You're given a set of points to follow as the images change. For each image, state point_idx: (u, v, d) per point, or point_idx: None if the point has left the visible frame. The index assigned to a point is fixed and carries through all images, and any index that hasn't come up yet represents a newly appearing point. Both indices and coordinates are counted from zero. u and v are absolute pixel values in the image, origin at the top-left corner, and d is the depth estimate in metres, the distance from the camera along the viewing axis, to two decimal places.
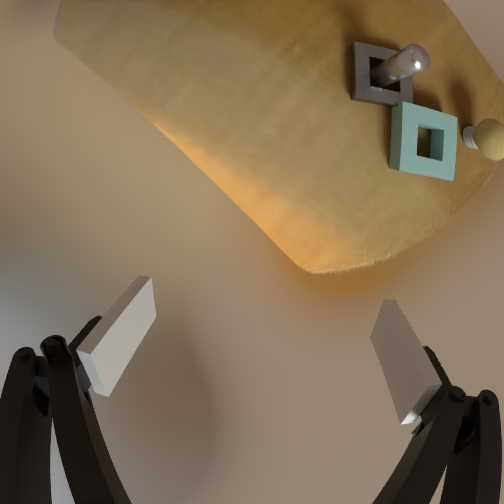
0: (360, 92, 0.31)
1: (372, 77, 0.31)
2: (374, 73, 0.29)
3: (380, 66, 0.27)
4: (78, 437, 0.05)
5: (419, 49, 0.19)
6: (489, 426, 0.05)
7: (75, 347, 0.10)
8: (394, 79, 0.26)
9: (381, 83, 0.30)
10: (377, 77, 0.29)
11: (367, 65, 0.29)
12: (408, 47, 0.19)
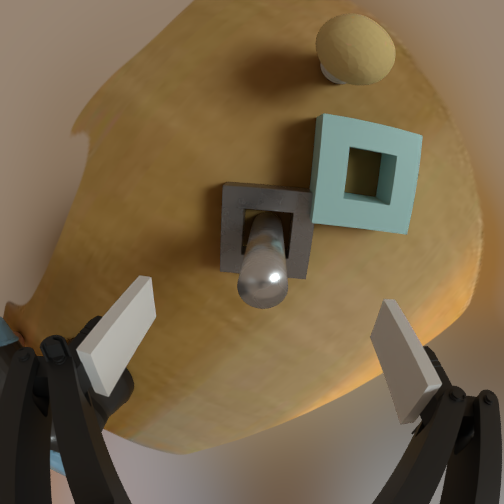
0: (298, 272, 0.29)
1: None
2: None
3: None
4: (78, 437, 0.05)
5: (246, 283, 0.17)
6: (489, 426, 0.05)
7: (75, 347, 0.10)
8: None
9: None
10: None
11: None
12: (248, 302, 0.18)
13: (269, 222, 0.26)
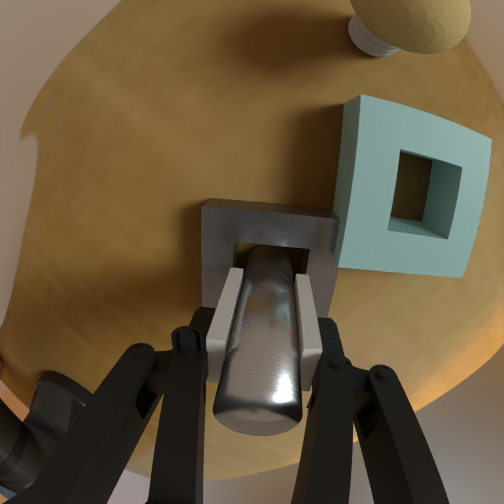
0: None
1: None
2: None
3: None
4: (184, 434, 0.06)
5: (229, 409, 0.09)
6: (393, 405, 0.07)
7: None
8: None
9: None
10: None
11: None
12: (234, 428, 0.09)
13: (272, 265, 0.17)
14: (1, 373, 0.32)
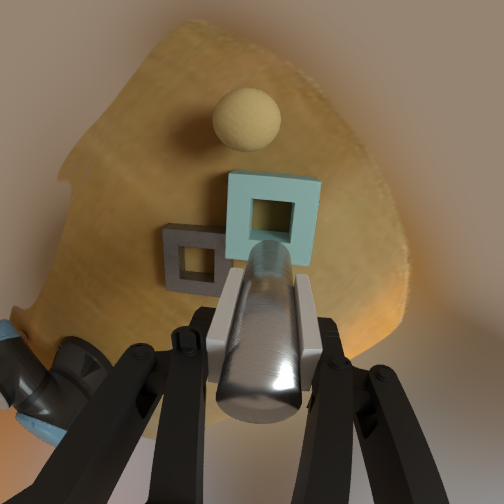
0: None
1: None
2: None
3: None
4: (184, 435, 0.06)
5: (231, 395, 0.09)
6: (393, 405, 0.07)
7: None
8: None
9: None
10: None
11: (191, 282, 0.36)
12: (236, 416, 0.10)
13: (273, 260, 0.17)
14: None
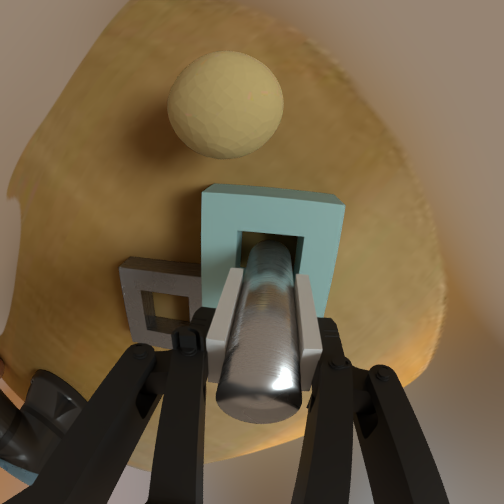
0: None
1: None
2: None
3: None
4: (183, 435, 0.06)
5: (231, 396, 0.09)
6: (393, 405, 0.07)
7: None
8: None
9: None
10: None
11: (161, 335, 0.26)
12: (236, 416, 0.10)
13: (273, 260, 0.17)
14: (2, 372, 0.39)
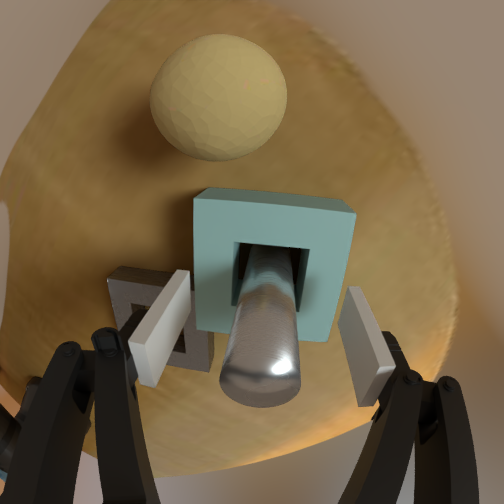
0: (199, 366, 0.24)
1: None
2: None
3: None
4: (119, 432, 0.06)
5: (234, 378, 0.10)
6: (454, 414, 0.06)
7: (122, 339, 0.11)
8: None
9: None
10: None
11: None
12: (238, 400, 0.10)
13: (273, 255, 0.18)
14: None
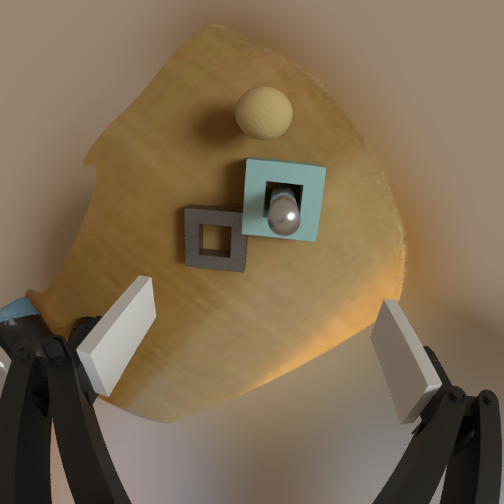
0: (238, 267, 0.41)
1: None
2: None
3: None
4: (78, 437, 0.05)
5: (274, 217, 0.27)
6: (489, 426, 0.05)
7: (75, 347, 0.10)
8: None
9: None
10: None
11: (208, 257, 0.41)
12: (274, 231, 0.27)
13: (285, 188, 0.35)
14: None
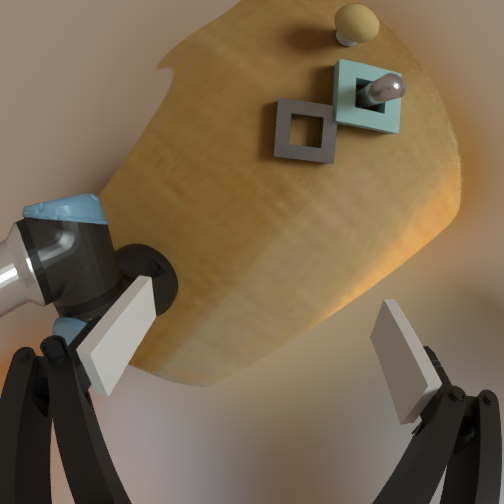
0: (328, 158, 0.39)
1: (367, 107, 0.36)
2: (368, 106, 0.35)
3: (369, 104, 0.33)
4: (78, 437, 0.05)
5: (386, 81, 0.24)
6: (489, 426, 0.05)
7: (75, 347, 0.10)
8: None
9: None
10: None
11: (299, 147, 0.38)
12: (387, 92, 0.25)
13: None
14: None
